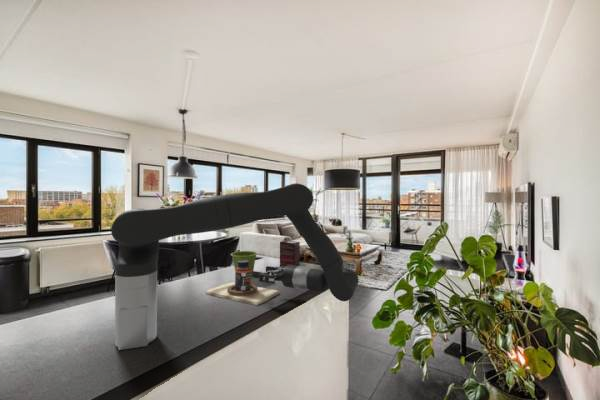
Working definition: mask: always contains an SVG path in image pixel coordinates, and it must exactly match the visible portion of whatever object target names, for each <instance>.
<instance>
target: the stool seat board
mask: <svg viewBox="0 0 600 400" xmlns="http://www.w3.org/2000/svg"><path fill="white" fill-rule="evenodd" d="M279 294H280V290H276V289H272V288H265V287H260V286H257V285H255V284H252V283H251V290H249V291H235V282H234V281H229V282H227V283H224V284H220V285H219V286H216V287H212V288H210V289H207V290H205V295H209V296H213V297H219V298H223V299H226V300H231V301H236V302H241V303H244V304H249V305H253V306H260V304H263V303H264V302H266V301H268V300H270V299H272V298H273V297H275V296H277V295H279Z"/></svg>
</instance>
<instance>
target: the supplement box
mask: <svg viewBox="0 0 600 400" xmlns="http://www.w3.org/2000/svg"><path fill="white" fill-rule="evenodd" d="M300 245H301V244H300V241H293V240H292V241H290V240H283V241H279V266H287V265H294V266H301V265H300V260H301V258H300V252H301V251H300V249H301V248H300V247H301V246H300Z"/></svg>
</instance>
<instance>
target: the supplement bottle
mask: <svg viewBox="0 0 600 400" xmlns="http://www.w3.org/2000/svg"><path fill="white" fill-rule="evenodd" d="M234 274H235V275H234V279H235V280H234V281H235V282H234V283H235V291H249V290H251V284H252V278H251V267H250V266H249V261H247V260H241V261H238V266H237V267H236V269H235V268H234Z"/></svg>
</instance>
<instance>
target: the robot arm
mask: <svg viewBox="0 0 600 400" xmlns="http://www.w3.org/2000/svg"><path fill="white" fill-rule="evenodd" d="M313 201H314V195H313V192H312V191H311V189H310V188H309V187H307V186H306V185H304V184H302V183H298V182H297V183H296V182H295V183H291V184H287V185H285V186H282V187H277V188H274V189H270V190H266V191H256V192H253V191H251V192H238V193H237V192H236V193H228V194H220V195H214V196H209V197H204V198H201V199H197V200H193V201H190V202H186V203H182V204H179V205H176V206H171V207H163V208H152V209H150V208H149V209H146V208H145V209H144V208H133V209H128V210H126V211H123V212H122V213H120V214H119V215H118V216H116V218H115V219H114V221H113V222H112V223H111V228H110V232H111V236H112V237H113V239H114V240H115V241H116V242H117V243H118V245H119V246H118V254H117V255H118V256H117V259H116V262H115V271H114V272H115V279H114V281H115V286H114V290H115V292H114V294H115V295H114V299H115V300H114V340H115V341H114V344H115V345H114V346H115V347H116V348H117V350H118V351H123V350H129V349H134V348H135V349H136V348H141V347H148V345H149V344H150V343H151V342H153V341H154V340H156V338H157V334H158V317H157V316H158V261H159V255H160V254H159V253H160V251H159V248H160V245H159V244H160V241H161V240H165V239H169V238H172V237H177V236H183V235H192V234H193V235H194V234H201V233H208V232H216V231H221V230H225V229H227V230H228V229H230V228H231V229H232V228H235V227H239V226H244V225H247V224H252V223H254V222H258V221H260V220H265V219H268V218H274V217H282V216H283V217H284V216H286V218H288V220H289V221H290V222H291V223H292V224H293V226H294V227H295V229H296V230H297V231H298V232H299V234H300V235H301V237H302V238H303V240H304V241H305V243H306V245H307V246H308V248H309V249H310V251H311V252H312V254H313V256H314V257H315V259H316V261H317V263H318V265H319V266H320V267H321V269H318V268H310V267H308V266H301V265H300V266H294V265H287V266H280V265H279V266H268V265H267V266H265V271H264V272H263V271H255V270H253V272H252V279H257V280H258V282H259V283H266V284H275V283H279V282H281V283H282V285H283V287H285V288H290V289H296V290H302V291H313V292H320V293H323V292H325V291H327V290H329V291H330V293H331V294H332V296H333V297H334V298H335V299H336V300H339V301H341V302H348V301H349V300H351V299H352V298H353V295H354V293H355V291H356V289H357V286H358V285H359V282H360V281H359V280H360V279H359V275H358V274H357V272H355V271H354V270H352V269H350V268H347V267H344V260H343V257H342V256H341V254H340V252H339V250H338V249H337V247H336V245H335V243H333V241H332V239H331V238H330V236H328V235H327V233H326V232H325V231H324V230H323V229H322V228H321V227H320V225H319V224H318V223H317V222H316V220H315V219H314V217H313V215H312V213H311V212H310V210H309V209H310V208H311V206H312V205H313V203H314V202H313Z"/></svg>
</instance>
